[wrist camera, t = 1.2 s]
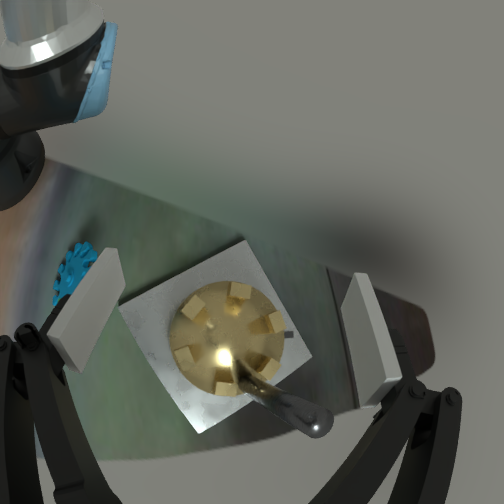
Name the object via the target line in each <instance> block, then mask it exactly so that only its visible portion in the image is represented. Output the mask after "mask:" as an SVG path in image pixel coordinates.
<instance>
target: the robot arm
mask: <svg viewBox="0 0 504 504" xmlns="http://www.w3.org/2000/svg"><path fill="white" fill-rule="evenodd" d="M0 11H1V16H2V20H3V25H4V29H5V33H6V38H5V39H4V41H3V43H2V44H1V46H0V211H3V210H6V209H8V208H10V207H12V206H14V205H15V204H17V203H18V202H20V201H21V200H22V199H23V198H24V197H25V196H26V195H27V194H28V193H29V191H30V190H31V189H32V188H33V186H34V185H35V183H36V181H37V180H38V178H39V176H40V173H41V171H42V168H43V164H44V158H45V150H44V145H43V143H42V141H41V138H40V136H39V135H38V133H37V132H36V130H40V129H44V128H48V127H53V126H58V125H62V124H67V123H75V122H77V121H78V120H82V119H86V118H89V117H94V116H97V115H99V114H100V113H101V112H103V110H104V109H105V107H106V105H107V101H108V92H109V83H110V74H111V64H112V59H113V53H114V47H115V41H116V35H117V29H118V26H117V24H116V23H111V22H106V23H104V13H103V10H102V8H101V7H100V6H98V5H97V4H94V3H92V2H90V1H89V0H0ZM125 286H126V285H125V281H124V277H123V272H122V268H121V264H120V259H119V255H118V250H117V249H116V248H107V247H106V248H105V249H104V251H103V252H102V253H101V255H100V256H99V257H98V258H97V260H96V261H95V263H94V264H93V265H92V267H91V268H90V269H89V271H88V272H87V273H86V275H85V276H84V278H83V279H82V280H81V282H80V283H79V285H78V286H77V288H76V289H75V291H74V292H73V293H72V295H71V294H66V295H65V296H63V297H62V298H61V299H60V300H59V301H58V303H57V304H56V306H55V308H54V309H53V310H52V312H51V314H50V315H49V316H48V318H47V319H46V321H45V323H44V324H43V326H42V327H41V329H40V331H39V332H38V330H37V329H36V327H35V325H33V324H32V323H24V324H22V325H20V326H19V327H18V328H17V329H16V331H15V334H14V338H15V340H16V341H17V342H13V341H12V340H11V338H10V337H9V336H8V335H2V336H0V504H44V502H43V497H42V491H41V486H40V481H39V474H38V467H37V459H36V449H35V437H34V423H35V427H36V431H37V434H38V438H39V441H40V445H41V448H42V451H43V454H44V457H45V460H46V463H47V466H48V468H49V471H50V474H51V477H52V479H53V482H54V484H55V490H54V492H53V496H54V499H55V502H56V504H122V502H121V501H120V500H119V498H118V497H117V496H116V495H115V494H114V493H113V492H112V490H111V489H110V487H109V485H108V483H107V481H106V480H105V478H104V476H103V474H102V472H101V470H100V468H99V465H98V463H97V461H96V459H95V457H94V455H93V452H92V450H91V448H90V445H89V443H88V441H87V438H86V436H85V433H84V431H83V428H82V425H81V423H80V420H79V417H78V414H77V412H76V409H75V406H74V403H73V399H72V396H71V393H70V390H69V386H68V383H67V379H66V376H65V372H64V370H63V366H64V364H66V366H67V367H68V368H69V370H71V371H74V372H77V373H80V374H82V372H83V369H84V367H85V365H86V363H87V361H88V358H89V356H90V354H91V352H92V350H93V348H94V346H95V344H96V342H97V340H98V338H99V335H100V333H101V331H102V329H103V327H104V326H105V324H106V322H107V320H108V318H109V316H110V314H111V312H112V310H113V308H114V306H115V304H116V303H117V301H118V299H119V297H120V295H121V293H122V292H123V290H124V288H125ZM341 312H342V316H343V321H344V325H345V329H346V334H347V339H348V343H349V348H350V353H351V358H352V363H353V368H354V373H355V379H356V384H357V390H358V396H359V402H360V408H370V407H376V406H377V405H378V404H379V403H380V402H381V406H382V408H381V410H379V411H378V412H377V413H376V414H375V415H374V417H373V418H374V420H373V422H372V423H371V425H370V426H369V428H368V429H367V431H366V432H365V434H364V435H363V437H362V438H361V439H360V441H359V442H358V444H357V445H356V446H355V448H354V449H353V451H352V452H351V453H350V455H349V456H348V457H347V459H346V460H345V461H344V463H343V464H342V465H341V466H340V468H339V469H338V470H337V472H336V473H335V474H334V475H333V476H332V477H331V479H330V480H329V481H328V482H327V483H326V485H325V486H324V487H323V488H322V489H321V490H320V492H319V493H318V494H317V495H316V496H315V497H314V498H313V499H312V500H311V501H310V502H309V503H308V504H367V503H368V502H369V501H370V499H371V498H372V497H373V495H374V494H375V492H376V491H377V489H378V488H379V486H380V485H381V483H382V482H383V480H384V479H385V477H386V476H387V474H388V473H389V471H390V469H391V468H392V466H393V464H394V463H395V461H396V459H397V458H398V456H399V454H400V452H401V450H402V449H403V447H404V445H405V443H406V441H407V440H408V443H407V446H406V450H405V454H404V457H403V461H402V464H401V467H400V470H399V473H398V476H397V479H396V482H395V485H394V488H393V491H392V493H391V496H390V499H389V501H388V504H445V500H446V497H447V493H448V489H449V485H450V481H451V477H452V472H453V468H454V463H455V457H456V451H457V445H458V438H459V431H460V422H461V411H462V397H461V395H460V393H459V392H458V391H457V390H456V389H455V388H452V387H448V388H445V389H444V390H443V391H442V392H437V391H432V390H428V389H426V387H425V385H424V384H423V383H422V382H420V381H418V380H417V379H416V376H415V373H414V370H413V367H412V364H411V361H410V358H409V355H408V354H407V353H408V352H407V349H406V347H405V343H404V340H403V338H402V336H401V335H400V333H399V332H398V331H397V330H396V329H387V326H386V323H385V320H384V318H383V315H382V312H381V309H380V306H379V304H378V301H377V298H376V296H375V293H374V290H373V288H372V285H371V283H370V280H369V278H368V275H367V274H365V273H354V275H353V278H352V281H351V283H350V286H349V289H348V291H347V294H346V296H345V299H344V301H343V304H342V306H341ZM408 438H409V439H408Z"/></svg>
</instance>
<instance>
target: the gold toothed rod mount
mask: <svg viewBox="0 0 504 504" xmlns="http://www.w3.org/2000/svg"><path fill="white" fill-rule="evenodd" d="M284 329H286V325H285V322H284V320H283V317H282V314H281V312H280V310H277V309H276V308H275V306H274V305H273V303H272V302H271V301H270V300H269V299H268V298H267V297H266V296H265V295H264V294H263V293H262V292H260V291H259V290H257V289H256V288H254V287H252V286H251V285H247V284H244V283H240V282H235V281H220V282H214V283H211V284H208V285H205V286H203V287H201V288H199V289H197V290H196V291H194V292H193V293H192V294H191V295H189V296H188V297H187V298H186V299H185V300H184V301H183V302H182V303H181V304H180V306H179V307H178V308H177V310H176V312H175V314H174V316H173V319H172V321H171V325H170V331H169V344H170V350H171V353H172V356H173V359H174V361H175V363H176V365H177V367H178V369H179V370H180V372H181V373H182V375H183V376H184V377H185V378H186V379H187V380H188V381H189V382H190V383H191V384H193V385H194V386H195V387H197V388H199V389H200V390H202V391H205V392H207V393H210V394H213V395H218V396H231V397H236V396H237V395H241V394H246V395H247V396H248V397H250V398H251V399H253V400H254V401H256V402H257V403H258V404H260V405H261V406H263V407H264V408H266V409H267V410H269V411H270V412H271V413H273V414H274V415H276V416H277V417H279V418H281V419H282V420H284V421H285V422H287V423H288V424H290V425H291V426H293V427H295V428H296V429H298V430H299V431H301V432H303V433H304V434H306V435H308V436H309V437H311V438H320V437H323V436H325V435H326V434H327V433H328V432H329V431H330V430H331V428H332V426H333V422H334V416H333V414H332V412H331V411H330V410H328V409H326V408H323V407H321V406H318V405H316V404H313V403H311V402H309V401H306V400H304V399H302V398H299V397H297V396H295V395H292V394H290V393H288V392H286V391H283V390H281V389H279V388H277V387H275V386H273V385H271V384H268V383H266V381H267V380H269V381H270V380H271V379H272V378H273V376H274V375H275V374H276V372H277V371H278V369H279V368H280V367H281V364H280V363H279V362H280V360H281V357H282V354H283V349H284V340H285V338H284Z"/></svg>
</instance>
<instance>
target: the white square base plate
mask: <svg viewBox="0 0 504 504" xmlns="http://www.w3.org/2000/svg"><path fill="white" fill-rule="evenodd" d="M220 281H235V282H240V283H244V284H247V285H251V286H252V287H254V288H256V289H257V290H259V291H260V292H262V293H263V294H264V295H265V296H266V297H267V298H268V299H269V300H270V301H271V302H272V303H273V305H274V306H275V308H276V309H277V310H280V312H281V314H282V317H283V320H284V322H285V325H286V329H284V338H285V340H284V349H283V354H282V357H281V360H280V362H279V363H280V364H281V367H280V368H279V369H278V371H277V372H276V374H275V375H274V376H273V378H272V379H271V380H270V381H269V380H267V381H266V383H268V384H271V385H273V386H274V385H275V384H277V383H278V382H280V381H281V380H282V379H284V378H285V377H286V376H288V375H289V374H290V373H292V372H293V371H294V370H296V369H297V368H298V367H300V366H301V365H302V364H304V363H305V362H306V361H307V360H309V359H310V358H311V357H312V355H311V354H310V352H309V350H308V348H307V347H306V345H305V343H304V341H303V340H302V338H301V336H300V334H299V333H298V331H297V329H296V327H295V325H294V324H293V322H292V320H291V318H290V317H289V315H288V313H287V311H286V310H285V308H284V306H283V304H282V303H281V301H280V299H279V297H278V296H277V294H276V292H275V290H274V289H273V287H272V285H271V283H270V282H269V280H268V278H267V276H266V275H265V273H264V271H263V269H262V268H261V266H260V264H259V262H258V261H257V259H256V257H255V255H254V254H253V252H252V250H251V248H250V247H249V245H248V243H247V241H246V240H244V241H242V242H240V243H238V244H236V245H234V246H232V247H230V248H228V249H226V250H225V251H223V252H221V253H219V254H217V255H215V256H213V257H211V258H209V259H207V260H205V261H203V262H202V263H200V264H198V265H196V266H194V267H192V268H190V269H188V270H186V271H184V272H183V273H181V274H179V275H177V276H175V277H173V278H171V279H169V280H167V281H165V282H164V283H162V284H160V285H158V286H156V287H154V288H152V289H150V290H149V291H147V292H145V293H143V294H141V295H139V296H137V297H136V298H134V299H132V300H130V301H128V302H126V303H124V304H122V305H121V306H119V307H118V309H119V311H120V312H121V314H122V316H123V318H124V320H125V322H126V324H127V326H128V327H129V329H130V331H131V333H132V335H133V336H134V338H135V340H136V342H137V343H138V345H139V347H140V349H141V350H142V352H143V354H144V355H145V357H146V359H147V360H148V362H149V363H150V365H151V367H152V368H153V370H154V371H155V373H156V374H157V376H158V378H159V379H160V381H161V382H162V384H163V385H164V387H165V388H166V390H167V391H168V393H169V394H170V395H171V397H172V398H173V400H174V401H175V403H176V404H177V405H178V407H179V408H180V410H181V411H182V412H183V414H184V415H185V416H186V418H187V419H188V420H189V422H190V423H191V424H192V426H193V427H194V428H195V430H196V431H197V432H198V433H201V432H203V431H204V430H206V429H208V428H210V427H211V426H213V425H215V424H216V423H218V422H220V421H221V420H223V419H224V418H226V417H228V416H229V415H231V414H232V413H234V412H236V411H237V410H239V409H240V408H242V407H243V406H245V405H246V404H248V403H249V402H251V401H252V400H253V399H251V398H250V397H248V396H247V395H246V394H241V395H237V396H236V397H231V396H218V395H213V394H210V393H207V392H205V391H202V390H200V389H199V388H197V387H195V386H194V385H193V384H191V383H190V382H189V381H188V380H187V379H186V378H185V377H184V376H183V375H182V373H181V372H180V370H179V369H178V367H177V365H176V363H175V361H174V359H173V356H172V353H171V350H170V344H169V331H170V325H171V321H172V319H173V316H174V314H175V312H176V310H177V308H178V307H179V306H180V304H181V303H182V302H183V301H184V300H185V299H186V298H187V297H188V296H189V295H191V294H192V293H193V292H194V291H196V290H197V289H199V288H201V287H203V286H205V285H208V284H211V283H214V282H220Z"/></svg>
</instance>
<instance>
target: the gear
mask: <svg viewBox="0 0 504 504" xmlns="http://www.w3.org/2000/svg"><path fill="white" fill-rule="evenodd" d="M92 249H93V246H92V245H91V244H90V243H88V242H87V241H86V242H85V243H84V244H83V245H82V244H80V243H76V245H75V249H74V252H73V251H71V250H70V251H68V252H67V254H66V266H65V265H63V264H61V265H60V267H59V269H58V273H60V275H61V282H60V281H58V280H55V283H54V286H53V289H55V290H57V291H60V293H59V296H56V295H55V296H54V297H53V305H55V306H56V304H57V303H58V301H59V300H60V299H61V298H62V297H63V296H65V295H66V294H71V295H72V293H73V292H74V291H75V289H76V288H77V286H78V285H79V283H80V282H81V280H82V279H83V278H84V276H85V275H86V273H87V272H88V271H89V269H90V268H91V267H92V266H90V267H88V264H89V262H90V261H91V262H93V263H94V262H95V261H96V260H97V252H96V251H94V250H92ZM87 267H88V268H87Z"/></svg>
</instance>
